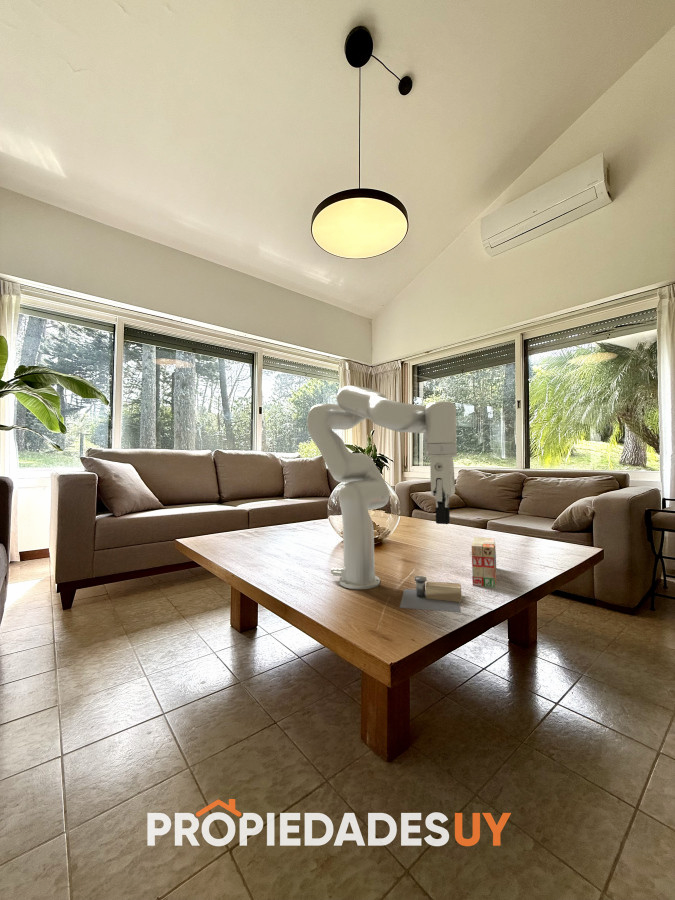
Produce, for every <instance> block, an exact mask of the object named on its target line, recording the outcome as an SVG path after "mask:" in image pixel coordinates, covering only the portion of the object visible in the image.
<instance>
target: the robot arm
mask: <svg viewBox="0 0 675 900" xmlns="http://www.w3.org/2000/svg"><path fill="white" fill-rule="evenodd" d="M336 402H337V403H335V404H334V403H318V404H315V405H313V406H312V407H311V408H310V409H309V410H308V413H307V419H306V424H307V425H306V426H307V430H308V434H309V436H310V438H311V440H312V442H313V443H314V444H315V446H316V448H318V450H319V452H320V454H321V456H322V458H323V461H324V463H325V465H326V467H327V469H328V471H329V473H330V475H331V477H332V478H333V479H334V480H335V481H336V482H338V483H345V484H343V485H342V486H341V488H340V490H339V493H338V503H339V507H340V511H341V512H340V513H341V520H342V541H343V543H342V544H343V547H342V548H343V567H340V568H338V567H331V568H330V569H331V570H330V574H331V575H333V576H334V577H340V578H339V579H338V582H339V583H338V584H339V585H340V586H341V587H343V588H346V589H350V590H368V589H372V588H376V587H378V586H379V585H380V584H381V580H380V579H381V578H380V577H379V576H377V575H376V570H375V538H374V537H375V536H374V534H375V533H374V532H375V531H374V523H373V519H372V517H371V515H370V513H369V511H371V510H376V509H377V510H378V509H381V508H383V507H385V506H386V505H387V504H388V502H389V500H390V489H389V488H388V485H387V483H386V481H385V480H384V477H383V475H382V473H381V472H380V471H379V469H378V467H377V465H376V463H375V461H374V460H373V459H372V457H371V456H369V455H367V454H365V453H361V452H351V451H349V449H348V448H347V446H346V444H345V442H344V441H343V439H342V437H340V436H339V435H338V433H336V432H335V431H334V430H341V431H342V430H344V431H345V430H350V429H353V428H354V427H356V426H358V425H359V424H360V423H362V422H363V421H364V420H366V419H367V420H370V421H371V422H372V423H373V424H374V425H376V426H379V427H382V428H385V429H388V430H391V431H395V432H398V433H412V434H425V457H427V458H430V464H429V465H430V473H429V474H430V493H431V495H432V496H433V497H435V523H436V524H437V525H439V524H440V525H449V524H450V522H451V521H450V520H451V519H450V517H451V516H450V515H451V513H450V512H451V511H450V501H449V500H450V498H451V497H452V496H454V494H455V493H456V485H455V484H456V483H455V464H454V457H457V456H458V455H457V453H458V450H457V448H458V447H457V411H456V410H457V409H456V405H455V404H454V402H451V401H434V402H429V403H427V404H426V405H422V404H421V405H420V404H415V403H414V404H413V403H405V402H400V401H395V400H392V399H388V398H387V396H386V395H385V394H384V393H382V392H379V391H376V390H373V388H370V387H364V386H357V385H345V386H343V387H342V388H340V389H339V390H338V392H337V394H336Z"/></svg>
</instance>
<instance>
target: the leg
mask: <svg viewBox="0 0 675 900" xmlns="http://www.w3.org/2000/svg"><path fill="white" fill-rule="evenodd" d="M437 582H438V581H426V582H425V590H426V598H427V599H436V600H446V601H455V602H459V603H462V598H463V597H462V584H460V585H459V584H448V583H449V582H445V583H437Z"/></svg>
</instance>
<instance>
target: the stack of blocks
mask: <svg viewBox="0 0 675 900" xmlns="http://www.w3.org/2000/svg"><path fill="white" fill-rule="evenodd" d="M496 549H497V548H496V541H495V538H493V537H478V536H474V537H473V542H472V543H471V566H472V567H471V569H472V576H471V577H472V578H471V579H472V586H475V587H484V588H496V582H497V550H496Z"/></svg>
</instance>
